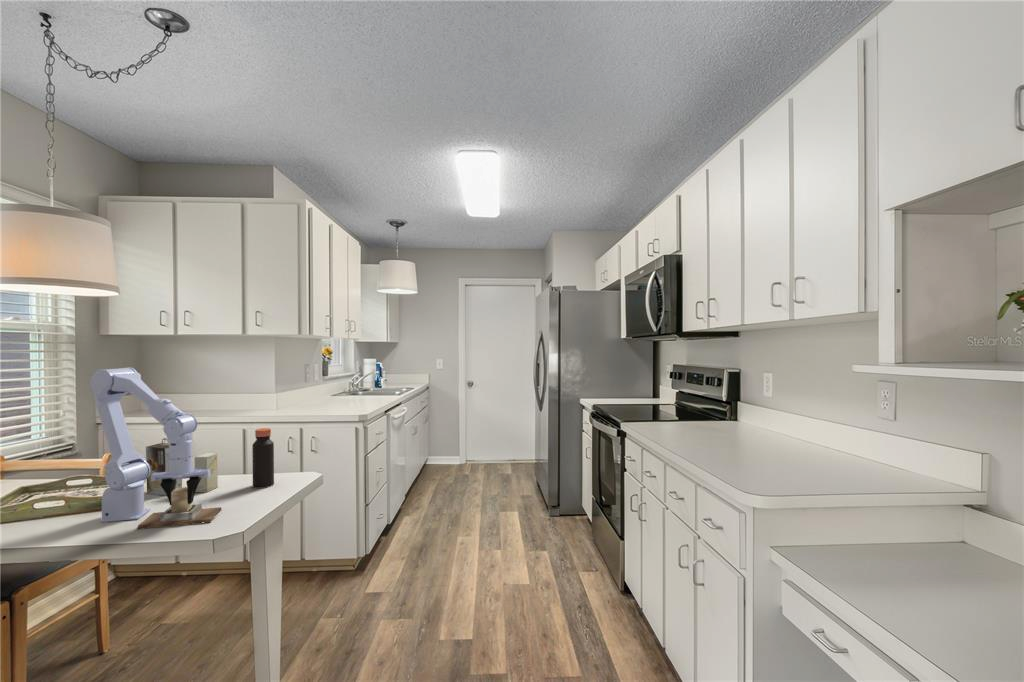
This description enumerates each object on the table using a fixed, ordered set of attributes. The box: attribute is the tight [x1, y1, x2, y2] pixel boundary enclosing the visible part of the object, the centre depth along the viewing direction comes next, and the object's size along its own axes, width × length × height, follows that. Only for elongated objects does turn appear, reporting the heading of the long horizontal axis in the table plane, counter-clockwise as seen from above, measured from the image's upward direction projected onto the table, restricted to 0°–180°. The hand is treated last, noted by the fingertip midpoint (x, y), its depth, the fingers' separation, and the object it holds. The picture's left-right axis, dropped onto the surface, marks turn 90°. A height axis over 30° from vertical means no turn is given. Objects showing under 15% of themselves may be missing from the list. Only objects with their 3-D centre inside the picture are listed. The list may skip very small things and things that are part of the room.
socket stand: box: [137, 502, 222, 530], centre depth 145 cm, size 18×10×3 cm, turn 105°
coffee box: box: [145, 442, 183, 497], centre depth 169 cm, size 9×6×16 cm
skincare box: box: [194, 452, 219, 493], centre depth 172 cm, size 6×4×12 cm
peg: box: [170, 486, 193, 513], centre depth 145 cm, size 4×4×6 cm
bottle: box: [251, 427, 275, 488], centre depth 177 cm, size 7×7×20 cm
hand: (181, 503), depth 145 cm, fingers closed on peg, 4 cm apart
